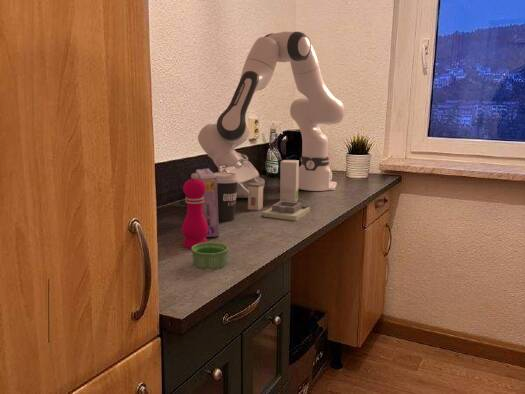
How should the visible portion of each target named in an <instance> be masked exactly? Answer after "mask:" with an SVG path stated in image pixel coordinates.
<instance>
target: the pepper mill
mask: <svg viewBox="0 0 525 394" xmlns="http://www.w3.org/2000/svg"><path fill="white" fill-rule="evenodd" d="M197 178H198V175H197V174H196V172H193V173H192V174H191V176H190V179H188V180H186V181H185V182H184V183H183V188H182V190H183V194H185V198H184V199H185V203H186V207H187V211H186V215H185V217H184V220H183V223H182V225H181V233H182V235H183V236H184V238H183V247H184V248H187V249H191V248H192V246H194V245H196V244H199V243H204V242H208V239H207V237H205V236H206V235H207V233H208V225H207V222H206V220H205V218H204V215H203V212H202V203H203V202H204V197H203V194H204V193H205V191H206V186H205V184H204V182H203V181H202V180H200V179H197Z"/></svg>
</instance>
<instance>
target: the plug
mask: <svg viewBox="0 0 525 394" xmlns="http://www.w3.org/2000/svg"><path fill="white" fill-rule="evenodd" d="M248 190H249V191H250V195H248V198H247V209H248V210H250V211H251V210H252V211H260V210H261V209H263V207H264V205H263V203H264V189H263V183H251V184H248Z"/></svg>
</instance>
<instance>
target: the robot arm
mask: <svg viewBox="0 0 525 394" xmlns="http://www.w3.org/2000/svg"><path fill="white" fill-rule="evenodd" d="M318 59H319V58H318V57H317V53H316V51H315V49H314V47H313V44H312V43H311V40H310V38H309V36H308V34H306V33H304V32H302V31H282V32H275V33H273V32H271V33H268V34H266V35H264V36H261V37H260V36H259V37H258V38H257V39H256V40H255V42H254V43H253V44H252V47H251V48H250V50H249V53H248V55H247V56H246V59H245V62H244V64H243V67H242V70H241V71H242V72H241V75H240V79H239V82H238V84H237V86H236V90H234V93H233V95H232V98H231V101H230V103H229V104H228V106H227V108H226V109H225V110H224V111H223V112H222V113H221V114H220V115H219V116H218V118H217V120H216V123H208V124H206V125H204V126H203V127H202V128H201V130H200V131H199V133H198V136H197V141H198V144H199V146H200V147H201V149H202V150H203V152H204V153H206V155H207V156H208V157H209V158H211V159H212V161H213V163H214V164H215V166H216V168H217V169H218V172H230V173H236V174H237V177H238V178H239V182H238V184H237V189H238V190H239V191H240V192H242V193H243V194H244V195H245V196H248V195H250V191H249V190H248V189H246V188H245V187H243V185H246V184H248V183H258V180H257V178H258V177H259V178H260V173H259V171H258V170H257V168H256V167H255V166H254V165H253V164H252V162H251V161H249V157H248V156H247V155H246V154H242V153H240V152H238V151H236V150H235V149H236V148H237V147H240V146H241V145H242V144H244V143H245V142H246V141H247V140H248V138H249V133H250V131H249V128H248V125H247V121H246V114H247V112H248V109H249V107H250V104H251V102H252V100H253V97H254V95H255V93H256V92H258V91H262V90H263V89H265V88H267V86H268V85H269V83H270V81H271V78H272V77H273V75H274V71H275V69H276V66H277V63H287V62H290V63H289V64H290V68H291V71H292V75H293V78H294V84H295V86H296V89H297V91H298V92H299V93H300V94H302V95H303V96H304V97H300V98H296V99H294V100H293V101H292V103H291V104H290V108H289V113H290V116H291V119H293V121H295V123H296V125H297V126H298V128H299V131H300V134H301V139H302V140H301V142H302V143H301V144H302V148H301V149H302V151H301V154H302V155H300V164H301V165H299V182H298V190H304V191H313V192H319V191H320V192H322V191H335V190H336V187H337V184H338V183H337V182H336V181H333V171H332V169H331V167H330V166H329V164H330V155H329V154H328V153H329V138H328V137H327V135H326V134H325V133H323V132H322V130H321V128H320V125H326V126H331V125H336V124H340V123H341V122H342V120H343V119H344V117H345V113H346V111H345V106H344V104H343V102H342V101H341V100H339V99H338V98H336V97H335V96H334V94H332V92H331V91H330V90H329V88H328V87H327V86H326V83H325V81H324V78H323V75H322V72H321V68H320V63H319V60H318Z"/></svg>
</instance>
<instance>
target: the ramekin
mask: <svg viewBox="0 0 525 394" xmlns="http://www.w3.org/2000/svg"><path fill="white" fill-rule="evenodd" d="M190 249H191V252H192V262H193V266H194V267H195V268H197V269H199V268H200V270H205V269H214V270H218V269H217V268H219V269H221V267H222V268H224V267H225V266H226V265H227V261H228V260H227V259H228V252H229V249H230V248H229V246H228V245H227V244H225V243H221V242H215V241H207V242H204V243H199V244H196V245H194V246H192V248H190ZM223 266H224V267H223Z"/></svg>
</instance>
